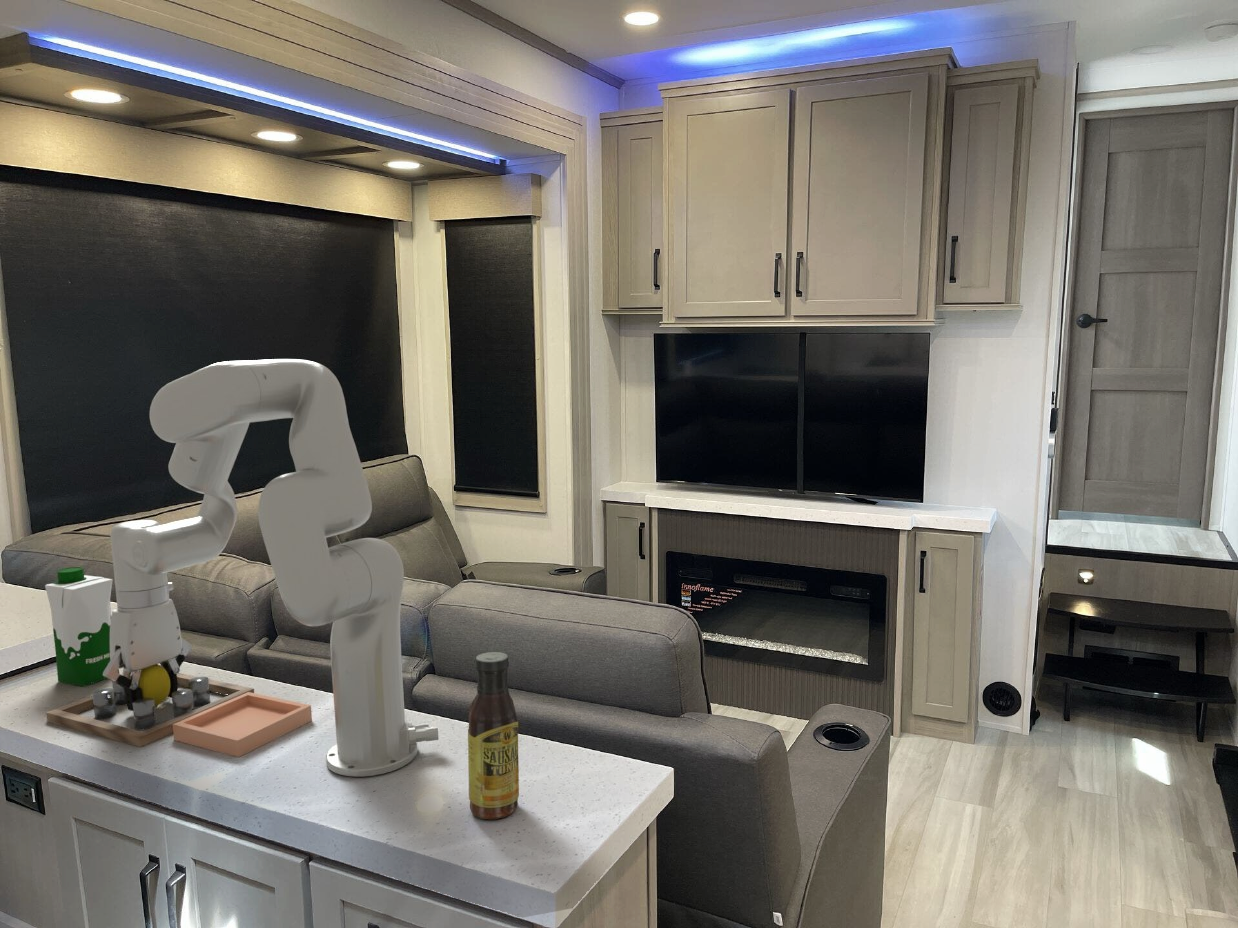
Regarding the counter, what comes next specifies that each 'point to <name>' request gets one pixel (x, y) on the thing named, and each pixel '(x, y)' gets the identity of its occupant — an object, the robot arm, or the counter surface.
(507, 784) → the sauce bottle
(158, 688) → the lemon
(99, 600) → the milk carton
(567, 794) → the counter surface
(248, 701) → the dish
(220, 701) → the frame
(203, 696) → the posts
